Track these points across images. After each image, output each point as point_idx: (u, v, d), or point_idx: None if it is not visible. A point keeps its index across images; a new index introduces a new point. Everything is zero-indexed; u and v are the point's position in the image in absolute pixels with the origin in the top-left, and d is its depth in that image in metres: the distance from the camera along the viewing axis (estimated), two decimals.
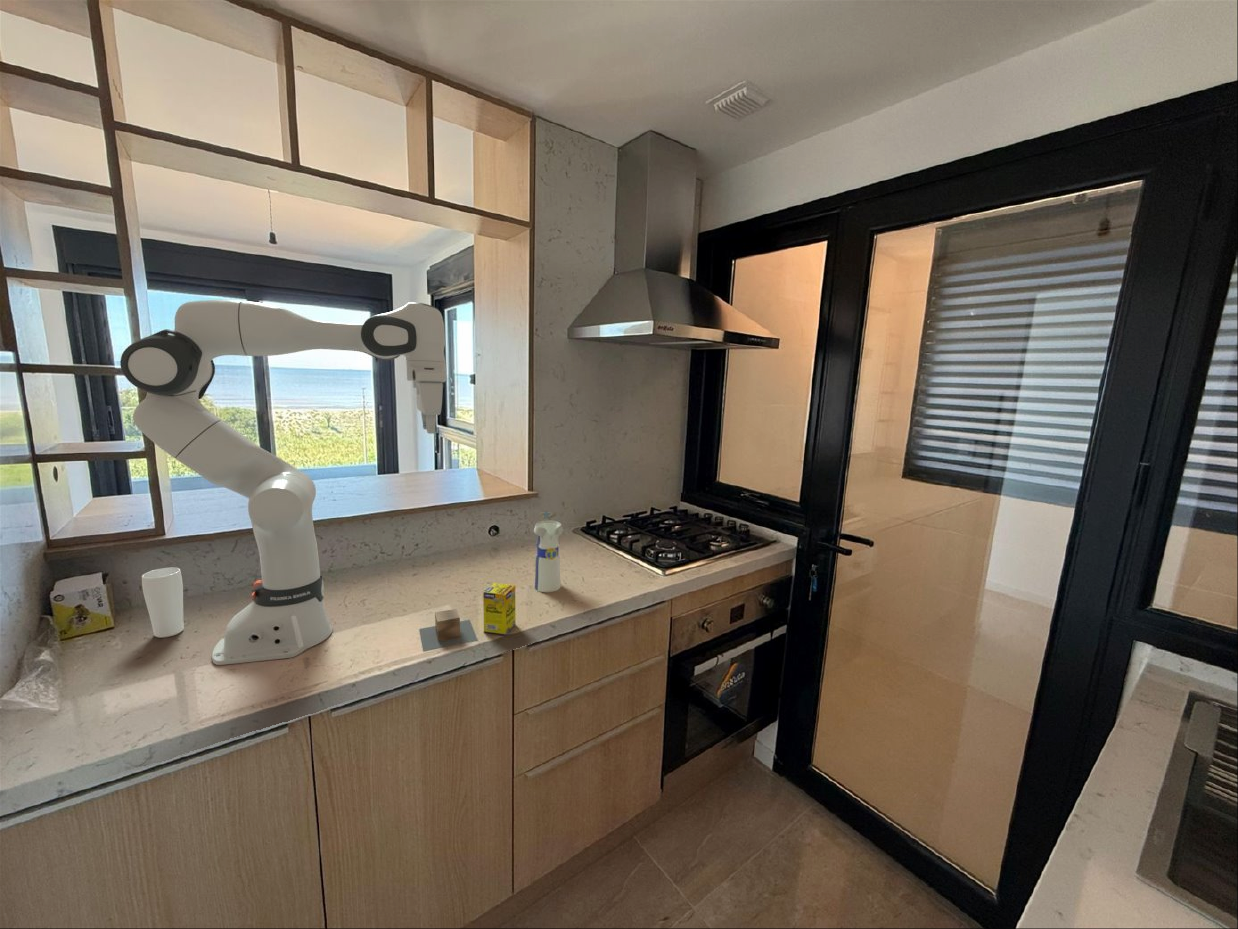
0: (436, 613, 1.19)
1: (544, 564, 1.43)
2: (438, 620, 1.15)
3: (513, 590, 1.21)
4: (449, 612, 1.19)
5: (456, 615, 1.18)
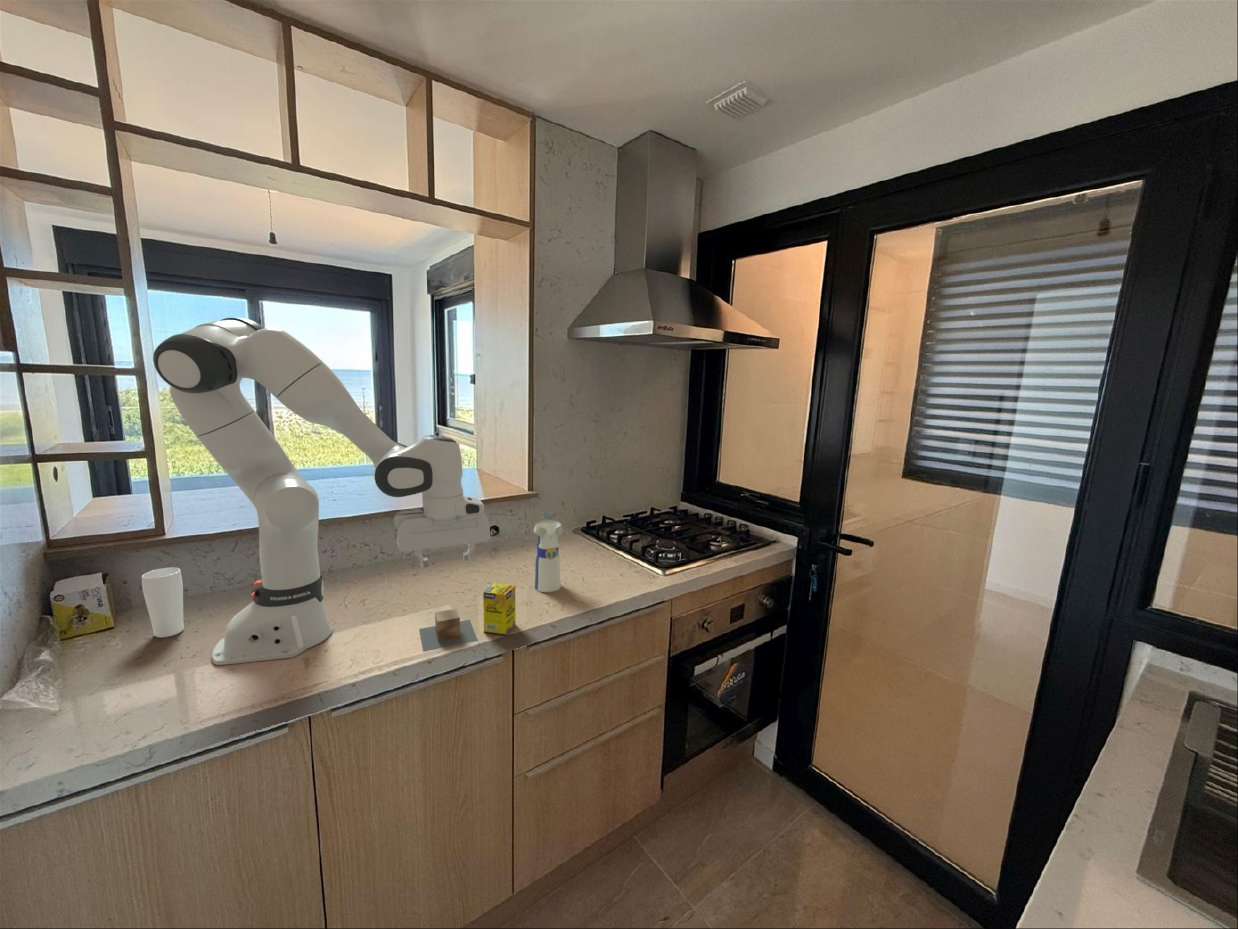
0: (436, 613, 1.19)
1: (544, 564, 1.43)
2: (438, 620, 1.15)
3: (513, 590, 1.21)
4: (449, 612, 1.19)
5: (456, 615, 1.18)
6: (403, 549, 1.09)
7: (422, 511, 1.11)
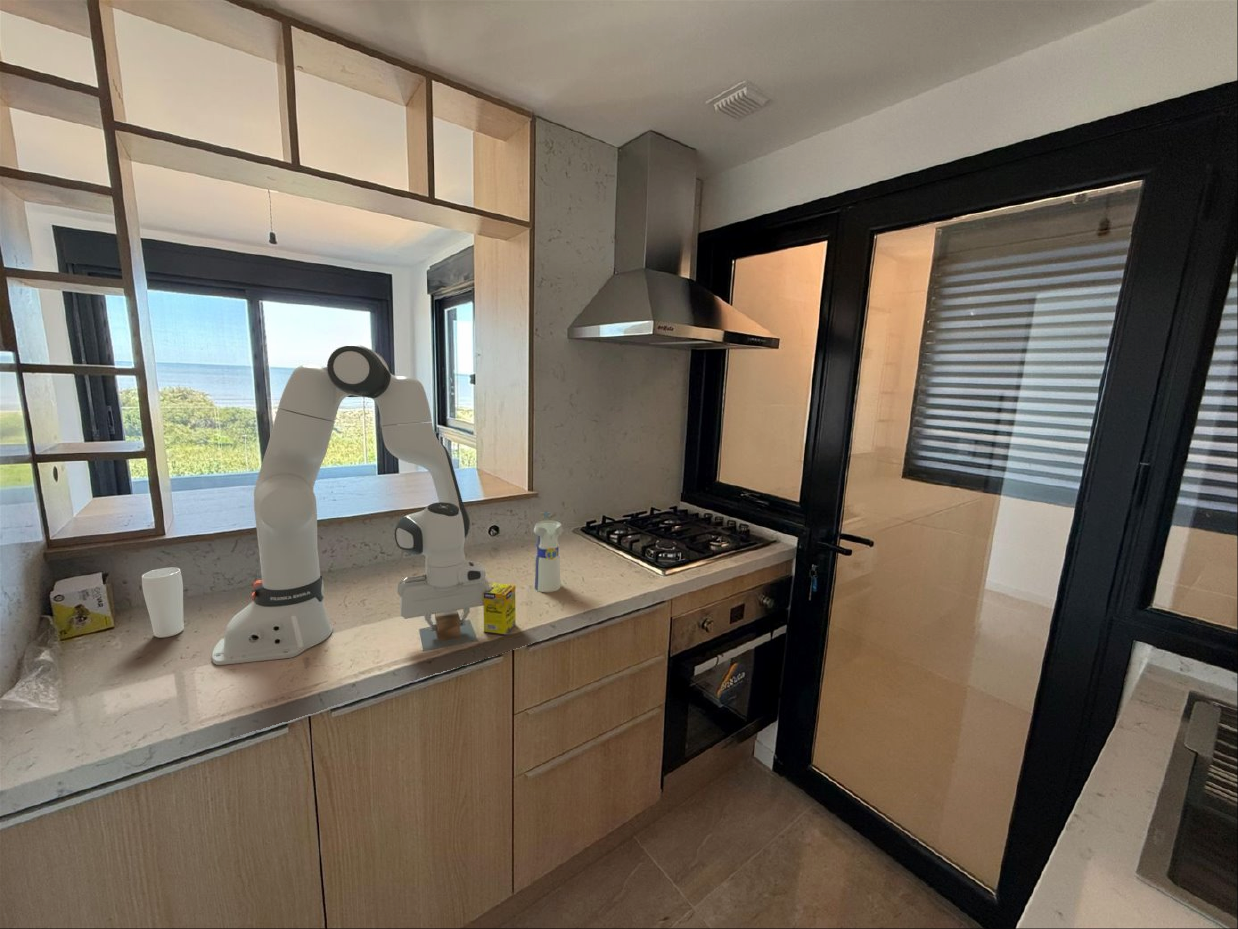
0: None
1: (544, 564, 1.43)
2: (438, 620, 1.15)
3: (513, 590, 1.21)
4: (449, 612, 1.19)
5: (456, 615, 1.18)
6: (406, 616, 1.12)
7: (425, 578, 1.14)
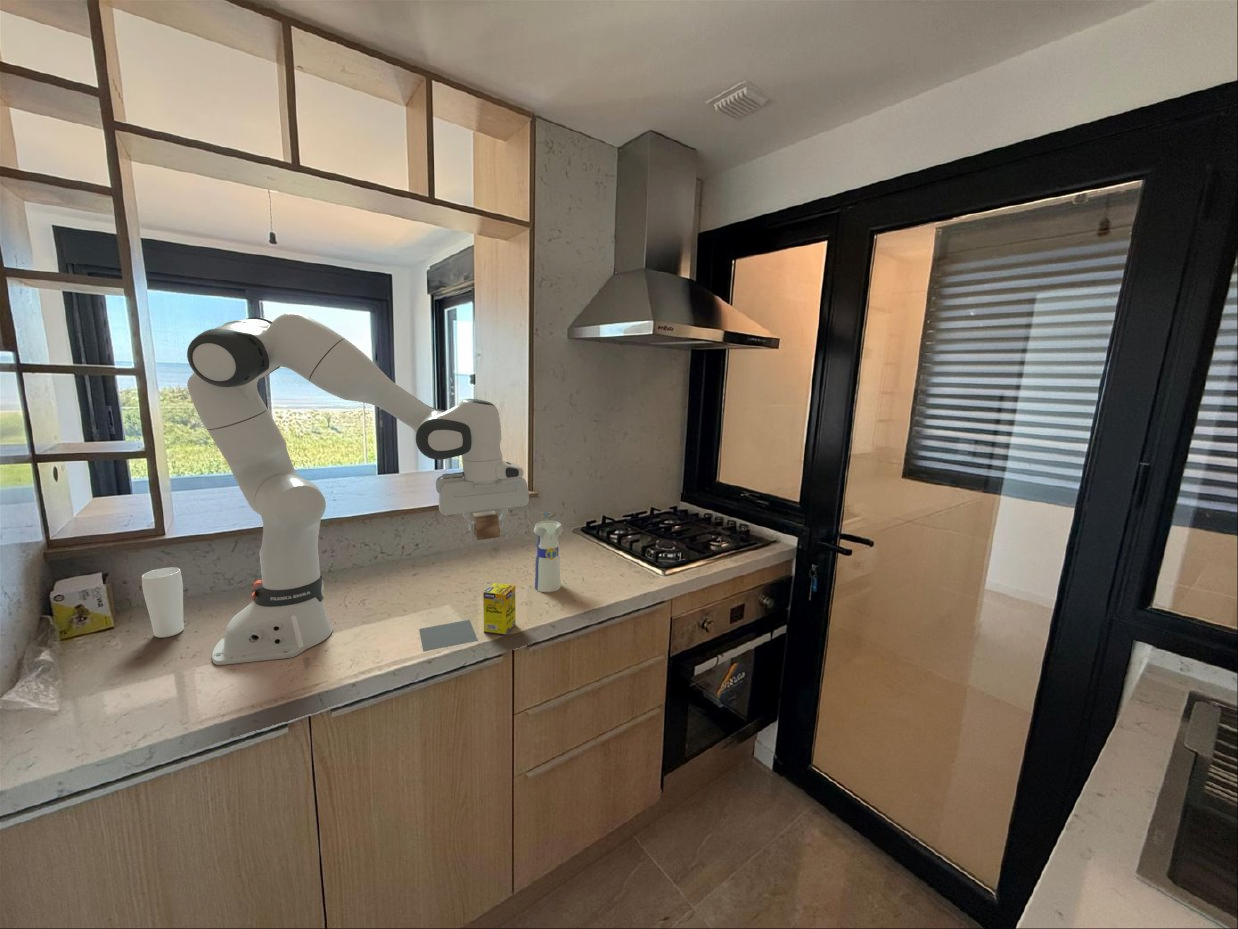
0: (474, 513, 1.16)
1: (544, 564, 1.43)
2: (477, 518, 1.13)
3: (513, 590, 1.21)
4: (487, 513, 1.17)
5: (495, 514, 1.16)
6: (445, 513, 1.10)
7: (463, 475, 1.11)
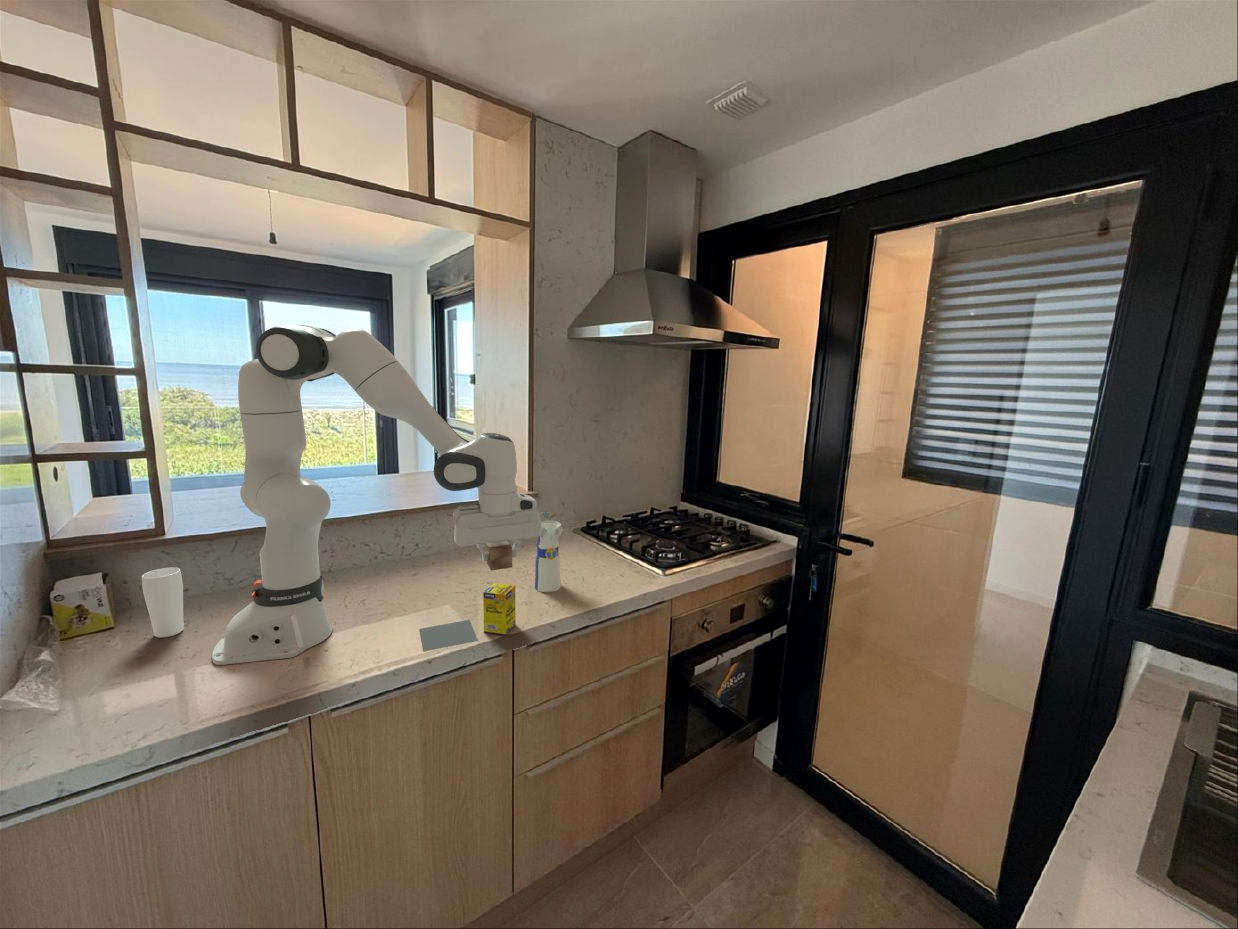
0: (488, 544, 1.19)
1: (544, 564, 1.43)
2: (491, 549, 1.16)
3: (513, 590, 1.21)
4: (500, 543, 1.20)
5: (508, 545, 1.19)
6: (461, 544, 1.13)
7: (478, 507, 1.14)
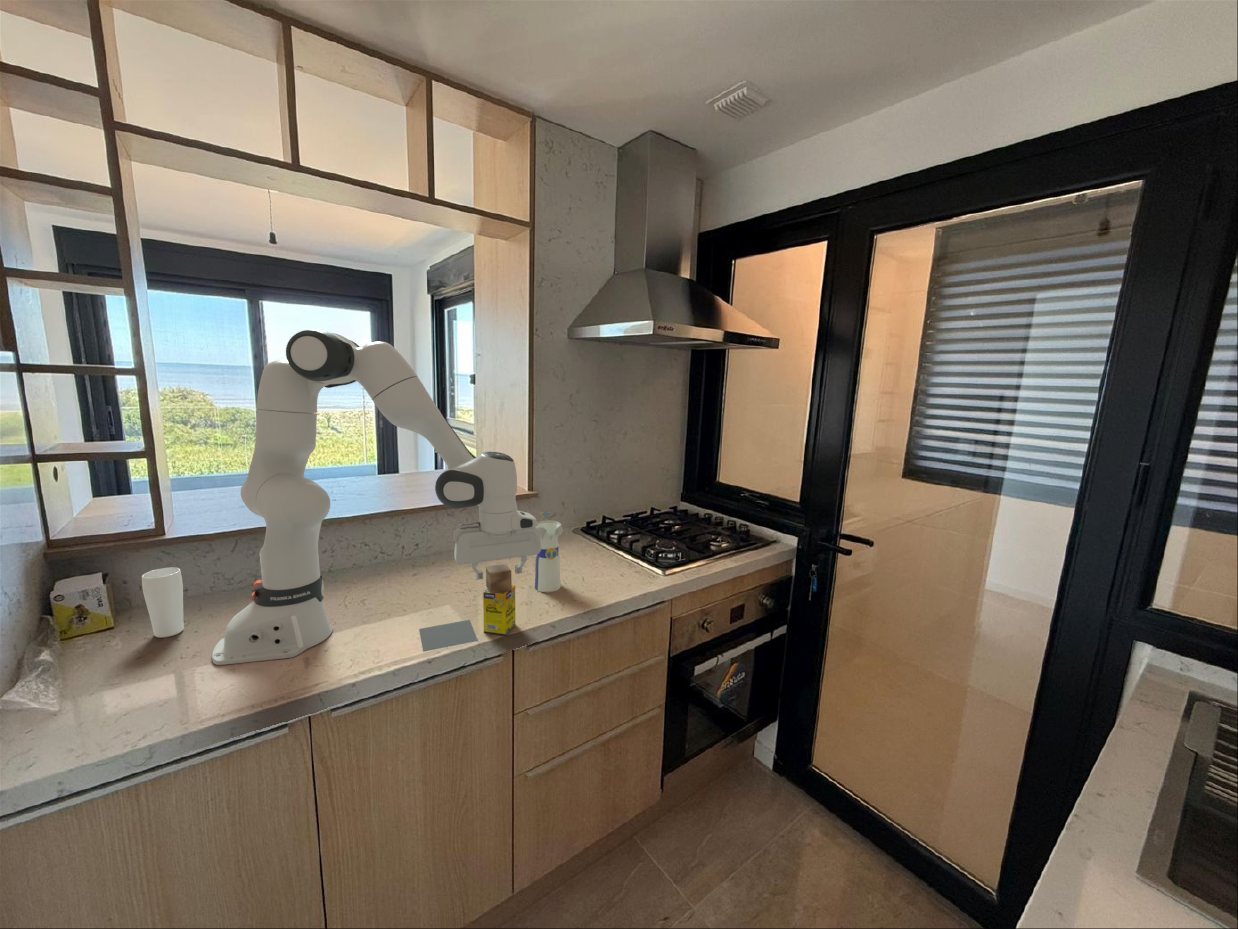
0: (488, 567, 1.20)
1: (544, 564, 1.43)
2: (491, 573, 1.17)
3: (513, 590, 1.21)
4: (500, 566, 1.21)
5: (507, 568, 1.20)
6: (461, 562, 1.14)
7: (479, 525, 1.15)
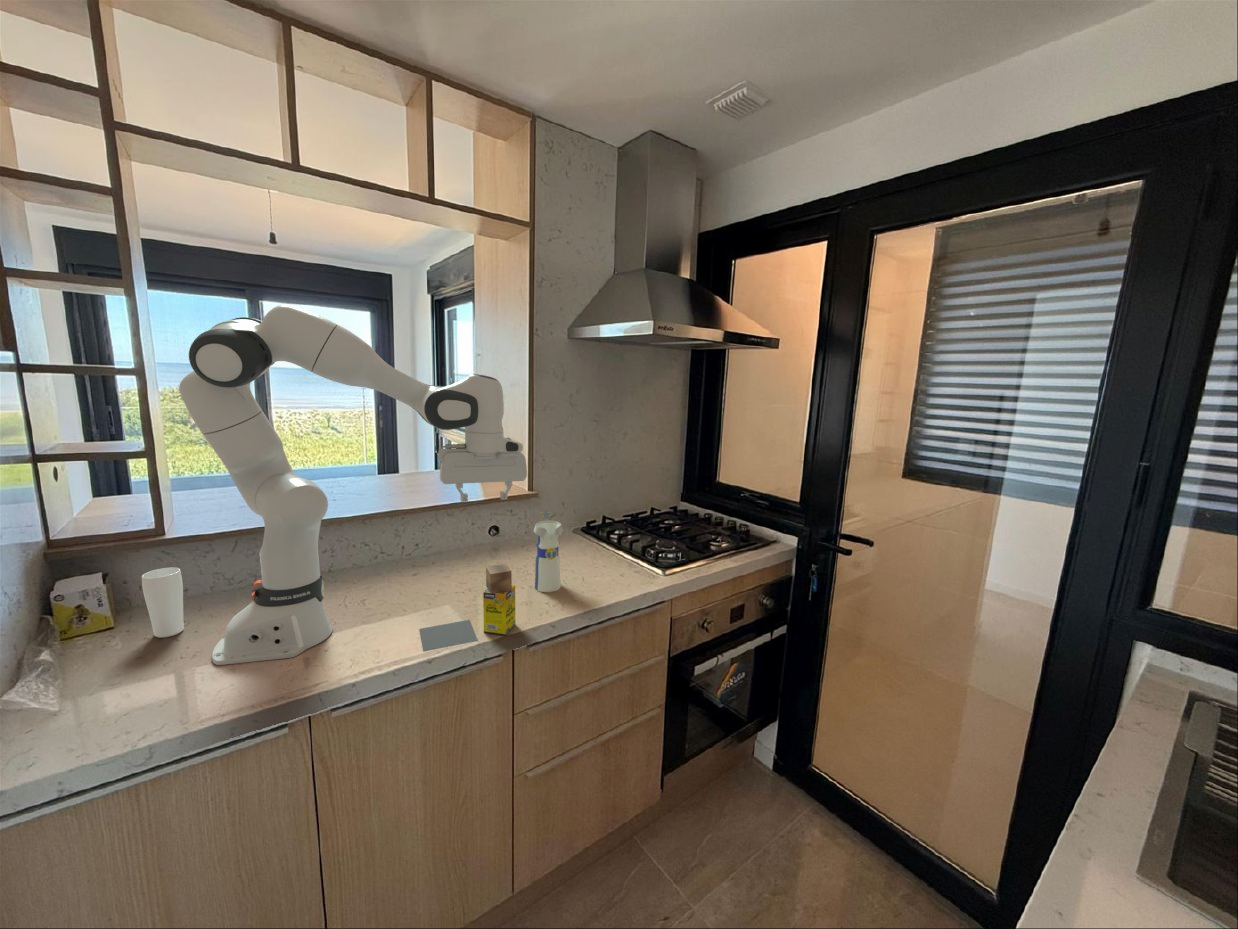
0: (488, 567, 1.20)
1: (544, 564, 1.43)
2: (491, 573, 1.17)
3: (513, 590, 1.21)
4: (500, 566, 1.21)
5: (507, 568, 1.20)
6: (446, 481, 1.14)
7: (465, 446, 1.16)
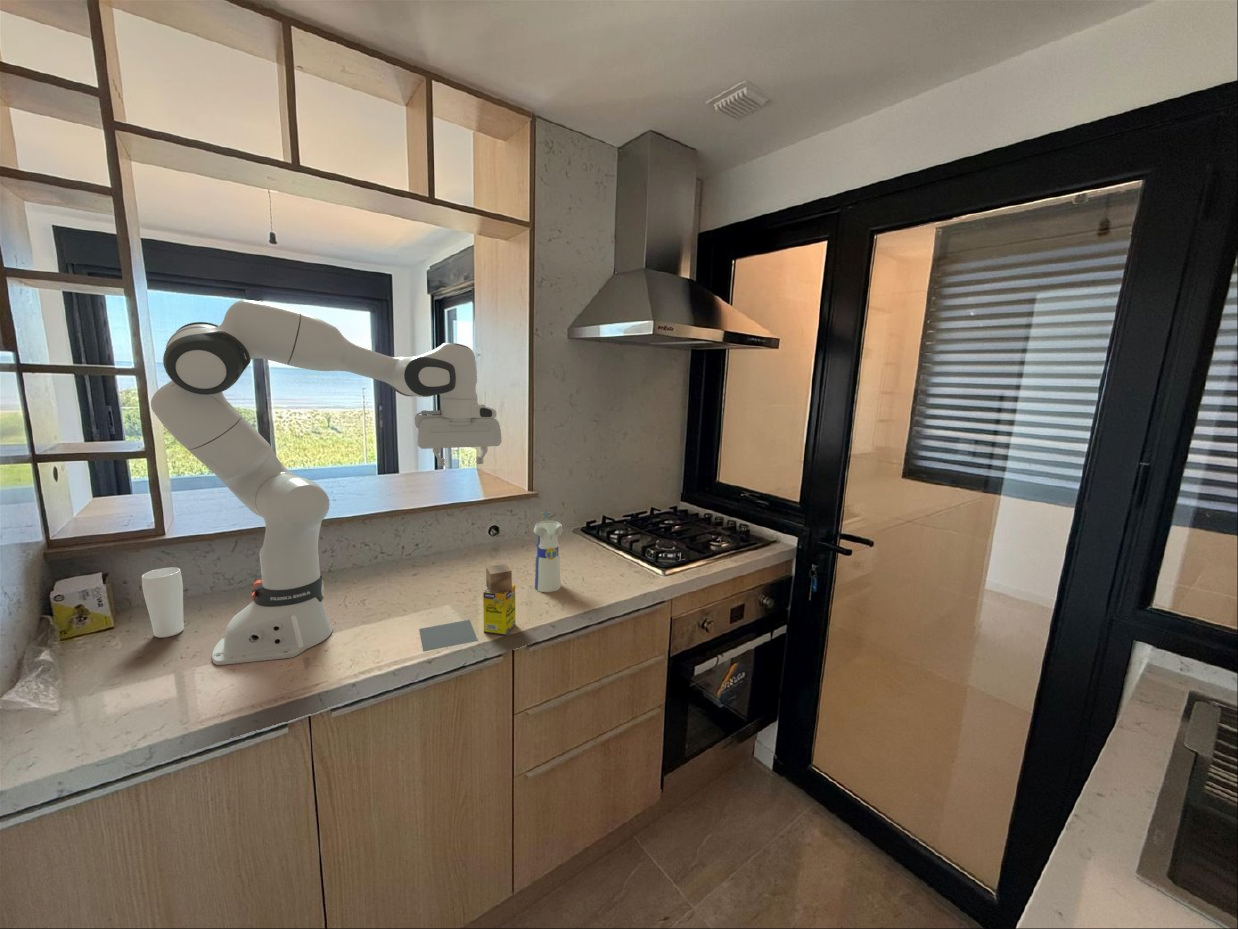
0: (488, 567, 1.20)
1: (544, 564, 1.43)
2: (491, 573, 1.17)
3: (513, 590, 1.21)
4: (500, 566, 1.21)
5: (508, 568, 1.20)
6: (423, 446, 1.20)
7: (440, 413, 1.22)
